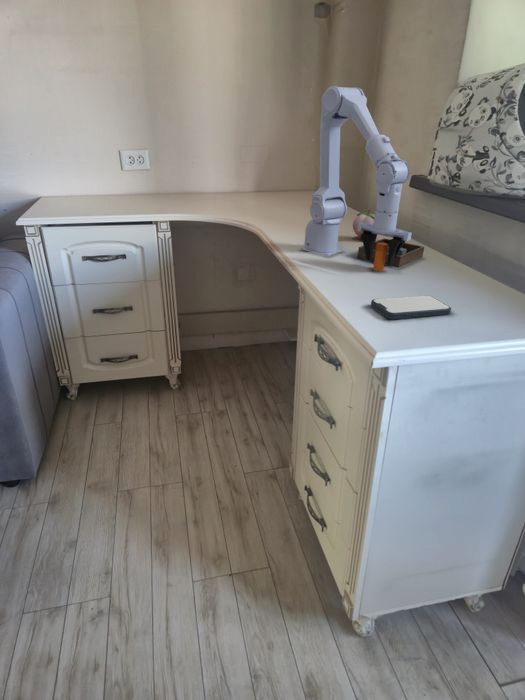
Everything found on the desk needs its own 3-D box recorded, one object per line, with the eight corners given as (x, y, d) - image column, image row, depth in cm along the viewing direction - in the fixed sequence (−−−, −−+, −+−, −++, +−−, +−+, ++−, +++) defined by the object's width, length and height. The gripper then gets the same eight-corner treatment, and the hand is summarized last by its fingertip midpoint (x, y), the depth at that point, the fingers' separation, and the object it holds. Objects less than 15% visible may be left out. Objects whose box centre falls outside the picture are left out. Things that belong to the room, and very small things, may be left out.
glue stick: (370, 271, 133) (374, 243, 129) (375, 268, 135) (379, 241, 131) (380, 273, 131) (384, 246, 128) (385, 271, 133) (389, 243, 130)
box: (357, 258, 143) (358, 247, 141) (382, 249, 153) (384, 238, 152) (398, 269, 135) (400, 256, 134) (422, 258, 146) (424, 246, 144)
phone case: (428, 301, 115) (368, 305, 110) (429, 294, 114) (369, 298, 109) (452, 315, 107) (388, 321, 102) (454, 308, 106) (390, 314, 102)
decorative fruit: (384, 241, 162) (389, 211, 157) (371, 246, 156) (375, 214, 152) (360, 236, 167) (364, 206, 163) (346, 240, 162) (350, 209, 157)
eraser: (386, 253, 147) (387, 247, 146) (390, 252, 149) (391, 245, 148) (401, 257, 144) (402, 250, 143) (405, 255, 146) (406, 249, 145)
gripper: (420, 213, 124) (411, 265, 130) (369, 204, 133) (363, 253, 139) (407, 217, 119) (398, 270, 126) (356, 207, 128) (350, 258, 134)
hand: (379, 262), depth 132 cm, fingers open, 6 cm apart
